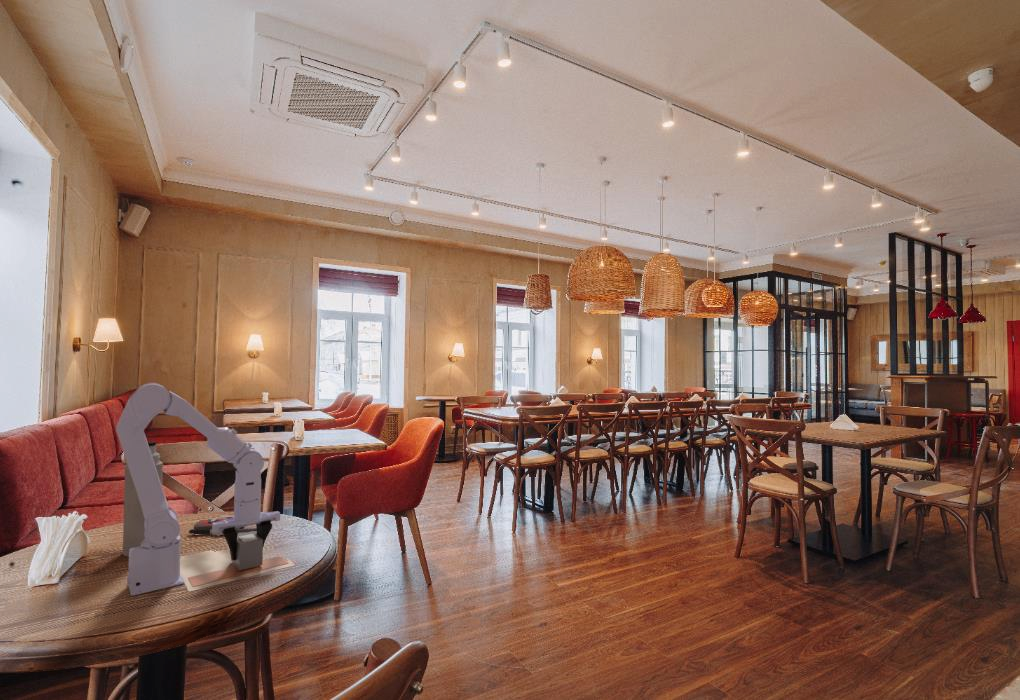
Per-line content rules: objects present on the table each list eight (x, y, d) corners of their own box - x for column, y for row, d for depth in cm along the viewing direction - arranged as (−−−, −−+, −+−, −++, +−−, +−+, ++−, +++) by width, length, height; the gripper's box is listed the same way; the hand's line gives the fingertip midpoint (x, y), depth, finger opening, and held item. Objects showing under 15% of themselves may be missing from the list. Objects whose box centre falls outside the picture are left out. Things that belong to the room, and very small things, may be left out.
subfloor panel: (188, 592, 107) (188, 591, 107) (171, 558, 126) (171, 557, 126) (295, 565, 122) (295, 564, 122) (266, 538, 140) (266, 538, 140)
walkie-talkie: (184, 539, 140) (262, 535, 144) (185, 523, 140) (262, 519, 144) (198, 529, 149) (270, 525, 152) (198, 514, 149) (271, 511, 152)
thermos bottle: (127, 548, 132) (129, 440, 133) (163, 543, 136) (165, 438, 137) (118, 558, 125) (121, 445, 126) (157, 553, 129) (160, 443, 129)
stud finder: (239, 570, 117) (239, 543, 117) (230, 560, 123) (231, 534, 123) (262, 565, 120) (262, 538, 121) (253, 555, 126) (253, 530, 127)
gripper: (274, 491, 130) (273, 544, 130) (209, 501, 120) (208, 558, 120) (283, 496, 125) (282, 552, 124) (216, 507, 115) (215, 567, 115)
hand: (246, 556), depth 122 cm, fingers closed on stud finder, 5 cm apart
